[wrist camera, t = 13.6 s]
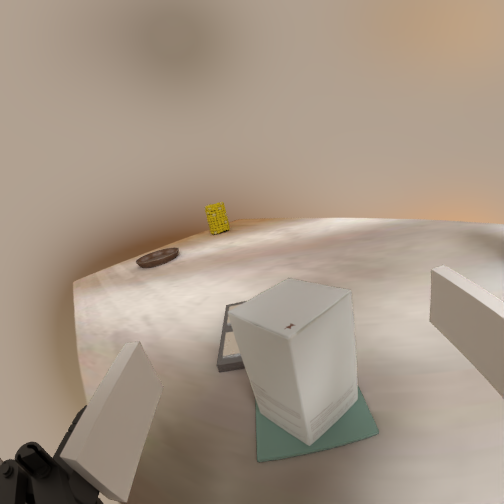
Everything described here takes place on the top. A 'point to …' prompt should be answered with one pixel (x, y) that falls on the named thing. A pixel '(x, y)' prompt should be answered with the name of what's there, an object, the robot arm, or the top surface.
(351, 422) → the mat
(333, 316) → the supplement box
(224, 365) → the label plate
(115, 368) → the robot arm
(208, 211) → the food
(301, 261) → the top surface
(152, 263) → the plant saucer
